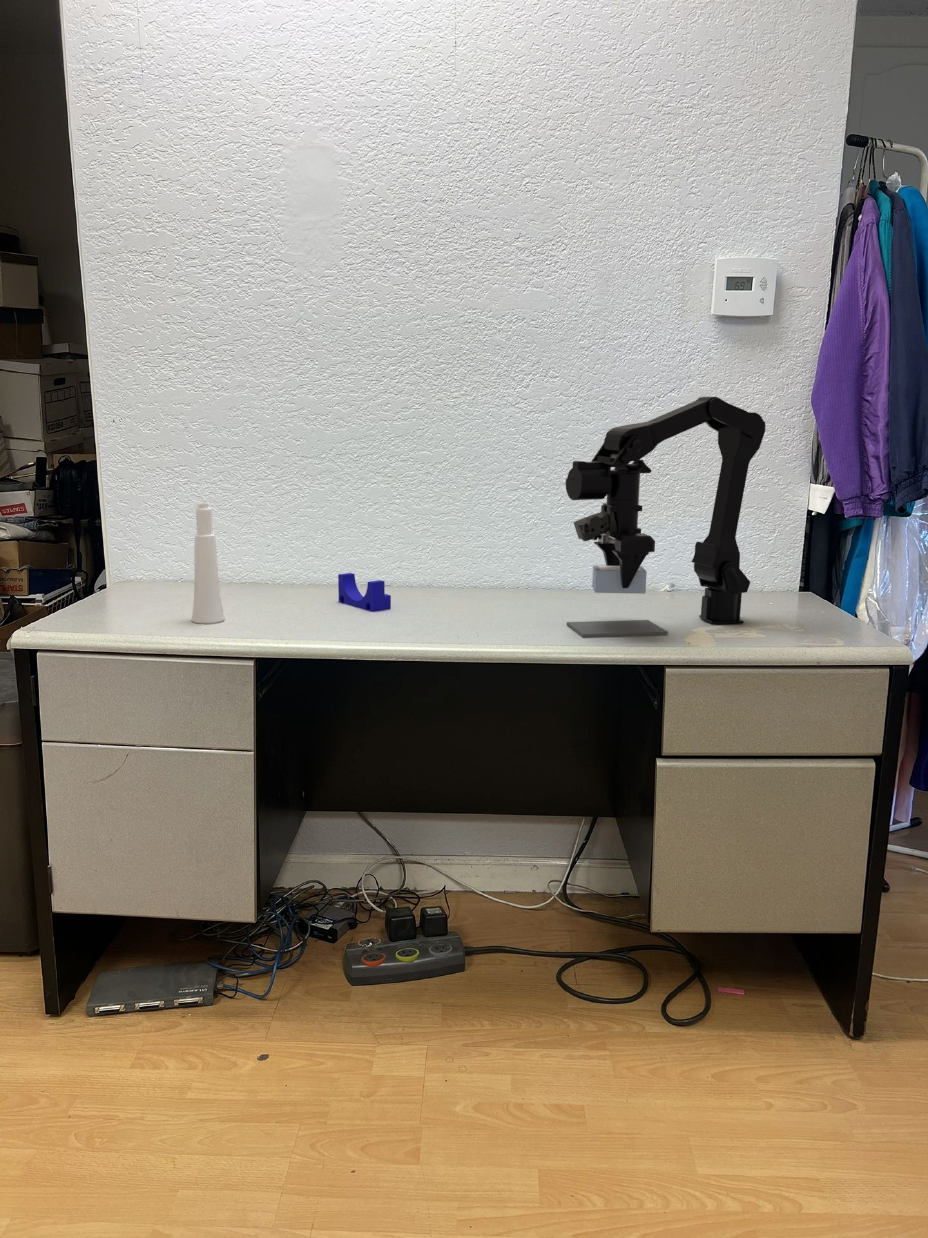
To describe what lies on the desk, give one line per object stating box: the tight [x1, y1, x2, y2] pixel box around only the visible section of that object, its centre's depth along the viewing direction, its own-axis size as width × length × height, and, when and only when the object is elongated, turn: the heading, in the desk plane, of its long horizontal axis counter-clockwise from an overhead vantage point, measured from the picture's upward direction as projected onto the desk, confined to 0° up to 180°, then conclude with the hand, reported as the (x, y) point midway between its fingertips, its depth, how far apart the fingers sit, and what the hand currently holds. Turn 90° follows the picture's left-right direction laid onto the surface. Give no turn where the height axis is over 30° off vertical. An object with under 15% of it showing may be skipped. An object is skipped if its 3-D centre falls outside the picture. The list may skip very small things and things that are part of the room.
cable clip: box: [337, 572, 392, 613], centre depth 201 cm, size 12×4×6 cm, turn 40°
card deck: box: [591, 564, 647, 595], centre depth 182 cm, size 6×9×4 cm, turn 88°
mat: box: [566, 619, 669, 638], centre depth 184 cm, size 16×10×1 cm, turn 101°
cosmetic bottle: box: [191, 501, 226, 625], centre depth 184 cm, size 6×6×22 cm
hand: (618, 584), depth 182 cm, fingers closed on card deck, 6 cm apart
